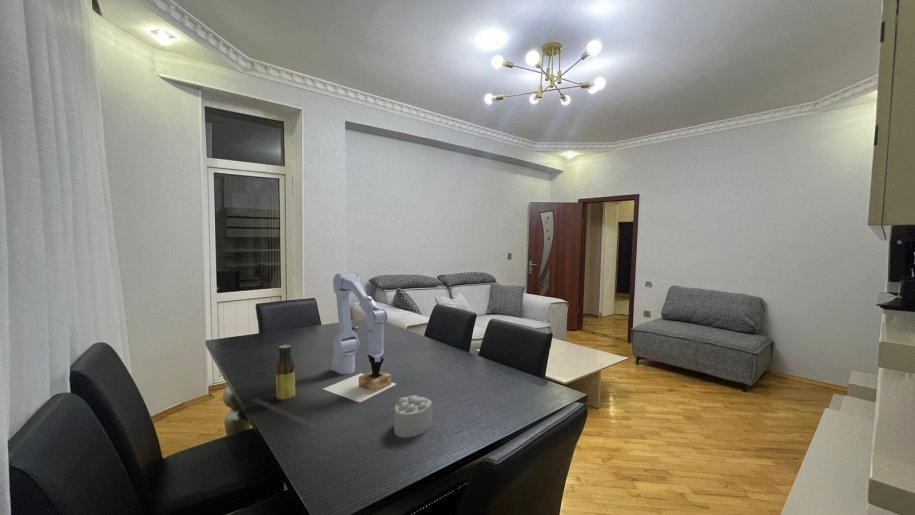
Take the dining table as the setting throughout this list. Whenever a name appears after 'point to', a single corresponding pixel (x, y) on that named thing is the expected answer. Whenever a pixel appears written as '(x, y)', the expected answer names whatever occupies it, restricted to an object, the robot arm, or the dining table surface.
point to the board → (353, 389)
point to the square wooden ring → (375, 381)
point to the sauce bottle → (285, 374)
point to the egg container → (412, 416)
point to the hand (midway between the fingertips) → (375, 373)
